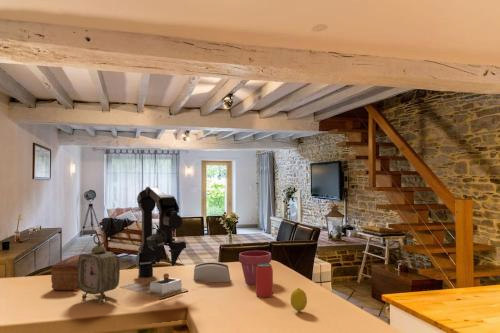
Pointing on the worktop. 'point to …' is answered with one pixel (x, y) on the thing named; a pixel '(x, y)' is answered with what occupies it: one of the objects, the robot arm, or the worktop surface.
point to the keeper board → (145, 288)
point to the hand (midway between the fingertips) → (165, 264)
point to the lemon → (298, 299)
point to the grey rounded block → (212, 272)
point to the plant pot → (253, 263)
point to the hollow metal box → (165, 286)
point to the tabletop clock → (98, 271)
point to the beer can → (264, 280)
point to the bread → (65, 274)
